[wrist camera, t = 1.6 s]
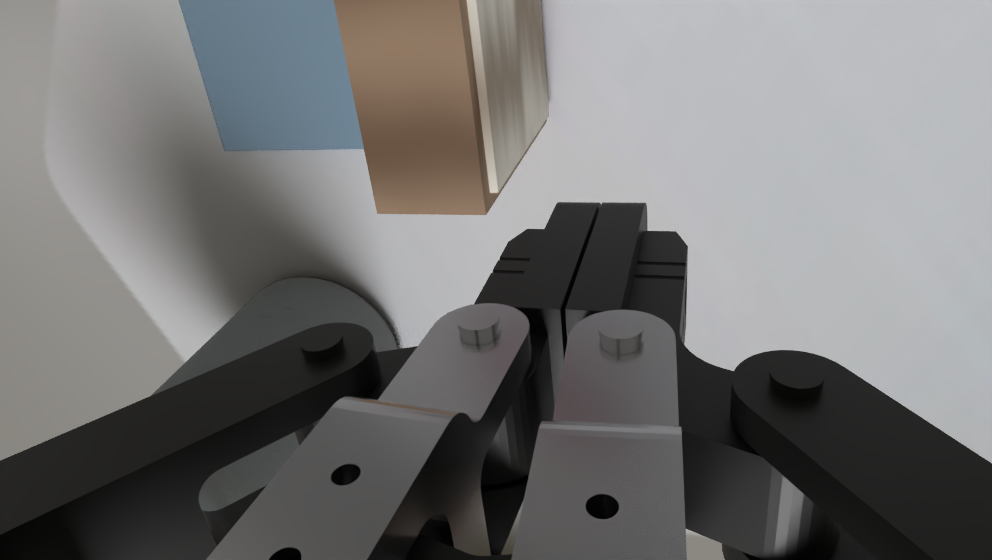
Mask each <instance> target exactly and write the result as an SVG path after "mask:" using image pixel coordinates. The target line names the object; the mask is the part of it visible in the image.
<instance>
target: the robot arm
mask: <svg viewBox="0 0 992 560" xmlns="http://www.w3.org/2000/svg"><path fill="white" fill-rule="evenodd" d="M687 253H688V246H687V245H686V244H685V242H684V241H683V240H682V239H681V237H680V236H679V235H678V234H677V232H671V231H647V206H646V203H602V205H601V204H600V203H571V202H558V203H557V204H556V206H555V208H554V210H553V213H552V215H551V217H550V219H549V221H548V223H547V225H546V227H545V229H527V230H525V231H524V232H522V233H521V234H519V235H518V236H517V237H515V238H514V239H512V240H511V241H509V242H508V244H507V246H506V247H505V249H504V251H503V253H502V255H501V256H500V260H498V262H497V264H496V265H495V267H494V269H493V273H491V274H490V276H489V278H488V280H487V282H486V284H485V285H484V287H483V289H482V291H481V293H480V294H479V296H478V298H477V300H476V302H475V303H474V305H469V306H465V307H461V308H458V309H456V310H453V311H451V312H449V313H447V314H446V315H444V316H443V317H441V318H440V319H439V320H438V321H437V322H436V323H435V324H434V325H433V327H432V328H431V329H430V331H429V332H428V333H427V335H426V336H425V337H424V339H423V340H422V341H421V343H420V344H419V345H418V346H416V347H410V348H403V349H396V350H388V351H381V352H376V347H375V343H374V339H373V336H372V334H371V332H370V331H369V330H368V329H366V328H365V327H363V326H360V325H358V324H353V323H345V322H338V323H327V324H322V325H318V326H315V327H311V328H309V329H306V330H303V331H301V332H299V333H296V334H294V335H292V336H289V337H287V338H285V339H282V340H280V341H278V342H275V343H273V344H271V345H268V346H266V347H264V348H261V349H259V350H257V351H254V352H252V353H250V354H247V355H245V356H243V357H241V358H238V359H236V360H234V361H231V362H229V363H227V364H224V365H222V366H220V367H217V368H215V369H213V370H210V371H208V372H206V373H203V374H201V375H199V376H196V377H194V378H192V379H189V380H187V381H185V382H182V383H180V384H178V385H175V386H173V387H171V388H168V389H166V390H164V391H161V392H159V393H157V394H154V395H152V396H150V397H148V398H145V399H143V400H141V401H138V402H136V403H134V404H132V405H129V406H127V407H124V408H122V409H120V410H118V411H115V412H113V413H111V414H108V415H106V416H104V417H101V418H99V419H96V420H94V421H92V422H89V423H87V424H85V425H82V426H80V427H78V428H76V429H73V430H71V431H68V432H66V433H64V434H61V435H59V436H57V437H55V438H52V439H50V440H48V441H45V442H43V443H41V444H38V445H36V446H34V447H31V448H29V449H27V450H24V451H22V452H20V453H17V454H15V455H13V456H10V457H8V458H6V459H3V460H1V461H0V560H687V554H686V553H687V552H686V529H688V530H691V531H693V532H696V533H698V534H701V535H703V536H706V537H708V538H710V539H713V540H715V541H718V542H720V543H722V551H723V555H724V558H725V560H992V463H990V462H989V461H987V460H985V459H984V458H982V457H981V456H979V455H978V454H976V453H975V452H973V451H972V450H970V449H969V448H967V447H966V446H964V445H963V444H961V443H959V442H958V441H956V440H955V439H953V438H952V437H950V436H949V435H947V434H946V433H944V432H943V431H941V430H940V429H938V428H936V427H935V426H933V425H932V424H930V423H929V422H927V421H926V420H924V419H923V418H921V417H920V416H918V415H917V414H915V413H913V412H912V411H910V410H909V409H907V408H906V407H904V406H903V405H901V404H900V403H898V402H897V401H895V400H894V399H892V398H891V397H889V396H887V395H886V394H884V393H883V392H881V391H880V390H878V389H877V388H875V387H874V386H872V385H871V384H869V383H868V382H866V381H864V380H863V379H861V378H860V377H858V376H857V375H855V374H854V373H852V372H851V371H849V370H848V369H846V368H845V367H843V366H841V365H840V364H838V363H836V362H834V361H832V360H830V359H827V358H825V357H822V356H819V355H816V354H811V353H807V352H801V351H792V350H778V351H769V352H763V353H760V354H756V355H753V356H751V357H749V358H747V359H746V360H744V361H743V362H741V363H740V364H739V365H738V366H737V367H736V369H735V371H730V370H727V369H723V368H720V367H717V366H714V365H712V364H709V363H707V362H705V361H703V360H701V359H699V358H698V357H696V356H695V355H694V354H692V353H691V352H690V351H689V350H688V349H687V348H686V347H685V345H684V341H685V329H686V298H687ZM293 432H295V434H296V437H297V440H298V443H299V447H298V448H297V449H296V451H295V452H294V453H293V454H292V455H291V457H290V458H289V459H288V460H287V462H286V463H285V464H284V465H283V466H282V468H281V469H280V470H279V471H278V473H277V474H276V475H275V476H274V477H273V479H272V480H271V481H270V482H269V483H268V485H266V486H264V487H262V488H260V489H258V490H256V491H255V492H253V493H251V494H249V495H247V496H245V497H243V498H241V499H239V500H238V501H236V502H234V503H232V504H230V505H228V506H226V507H224V508H222V509H219V510H216V511H203V510H202V509H201V507H200V504H199V493H200V490H201V488H202V486H203V484H204V483H205V481H206V480H207V479H208V478H209V477H210V476H211V475H212V474H213V473H215V472H216V471H218V470H219V469H221V468H223V467H225V466H227V465H229V464H231V463H233V462H235V461H237V460H239V459H241V458H243V457H245V456H247V455H249V454H251V453H253V452H255V451H257V450H259V449H261V448H263V447H265V446H267V445H269V444H271V443H273V442H275V441H277V440H279V439H281V438H283V437H285V436H287V435H289V434H291V433H293Z"/></svg>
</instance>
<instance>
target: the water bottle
mask: <svg viewBox="0 0 992 560" xmlns="http://www.w3.org/2000/svg"><path fill="white" fill-rule="evenodd" d="M338 322H345V323H353V324H358V325H360V326H363V327H365V328H366V329H368V330H369V331H370V332H371V334H372V336H373V339H374V343H375V347H376V352H381V351H388V350H396V349H398V348H397V345H396V342H395V339H394V336H393V334H392V332H391V331H390V329H389V327H388V325H387V324H386V322H385V321H384V320H383V318H382V317H381V316H380V315H379V313H378V312H377V311H376V310H375V309H374V308H373V307H372V306H371V305H370V304H368V303H367V302H366V301H365V300H364V299H363V298H361V297H360V296H358V295H357V294H355V293H354V292H352V291H351V290H349V289H347V288H345V287H343V286H340V285H338V284H336V283H334V282H330V281H326V280H323V279H319V278H309V277H296V278H286V279H283V280H280V281H277V282H274V283H272V284H270V285H269V286H267V287H266V288H264V289H262V290H261V291H260V292H259V293H258V294H256V295H255V296H254V297H253V298H252V299H251V300H250V301H249V302H248V303H247V304H246V305H245V306H244V307H243V308H242V309H241V310H240V311H239V312H238V313H237V314H236V315H235V316H234V317H233V318H231V319H230V320H229V321H228V322H227V323H226V324H225V325H224V326H223V327H222V328H221V329H220V330H219V331H218V332H217V333H216V334H215V335H214V336H213V337H212V338H211V339H210V340H209V341H208V342H206V343H205V344H204V345H203V346H202V347H201V348H200V349H199V350H198V351H197V352H196V353H195V354H194V355H193V356H192V357H191V358H190V359H189V360H188V361H187V362H186V363H185V364H184V365H182V367H181V368H179V369H178V370H177V371H176V372H175V373H174V374H173V375H172V376H171V377H170V378H169V379H168V380H167V381H166V382H165V383H164V384H163V385H162V386H161V387H160V388H159V389H157V390H156V391H155V392H154V393H153V394H152V395H154V394H157V393H159V392H161V391H164V390H166V389H168V388H171V387H173V386H175V385H178V384H180V383H182V382H185V381H187V380H189V379H192V378H194V377H196V376H199V375H201V374H203V373H206V372H208V371H210V370H213V369H215V368H217V367H220V366H222V365H224V364H227V363H229V362H231V361H234V360H236V359H238V358H241V357H243V356H245V355H247V354H250V353H252V352H254V351H257V350H259V349H261V348H264V347H266V346H268V345H271V344H273V343H275V342H278V341H280V340H282V339H285V338H287V337H289V336H292V335H294V334H296V333H299V332H301V331H303V330H306V329H309V328H311V327H315V326H318V325H322V324H327V323H338ZM152 395H151V396H152ZM298 447H299V443H298V440H297V437H296V434H295V432H293V433H291V434H289V435H287V436H285V437H283V438H281V439H279V440H277V441H275V442H273V443H271V444H269V445H267V446H265V447H263V448H261V449H259V450H257V451H255V452H253V453H251V454H249V455H247V456H245V457H243V458H241V459H239V460H237V461H235V462H233V463H231V464H229V465H227V466H225V467H223V468H221V469H219V470H218V471H216V472H215V473H213V474H212V475H211V476H210V477H209V478H208V479H207V480H206V481H205V483H204V484H203V486H202V488H201V490H200V493H199V504H200V507H201V509H202V510H203V511H216V510H219V509H222V508H224V507H226V506H228V505H230V504H232V503H234V502H236V501H238V500H239V499H241V498H243V497H245V496H247V495H249V494H251V493H253V492H255V491H256V490H258V489H260V488H262V487H264V486H266V485H268V483H269V482H270V481H271V480H272V479H273V477H274V476H275V475H276V474H277V473H278V471H279V470H280V469H281V468H282V466H283V465H284V464H285V463H286V462H287V460H288V459H289V458H290V457H291V455H292V454H293V453H294V452H295V451H296V449H297V448H298Z"/></svg>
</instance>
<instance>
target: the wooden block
mask: <svg viewBox="0 0 992 560" xmlns="http://www.w3.org/2000/svg"><path fill="white" fill-rule="evenodd" d="M334 4H335V9H336V14H337V19H338V24H339V29H340V34H341V39H342V43H343V48H344V53H345V58H346V63H347V68H348V73H349V78H350V83H351V87H352V92H353V97H354V102H355V107H356V112H357V117H358V122H359V126H360V131H361V136H362V141H363V146H364V151H365V156H366V161H367V165H368V170H369V175H370V180H371V185H372V190H373V195H374V200H375V205H376V209H377V214H448V215H486V214H487V213H488V211H489V210H490V208H491V206H492V205H493V203H494V202H495V200H496V199H497V197H498V196H499V194H500V193H501V191H502V189H503V188H504V186H505V185H506V183H507V182H508V180H509V179H510V177H511V176H512V174H513V172H514V171H515V169H516V168H517V166H518V165H519V163H520V162H521V160H522V159H523V157H524V155H525V154H526V152H527V151H528V149H529V148H530V146H531V145H532V143H533V142H534V140H535V138H536V137H537V135H538V134H539V132H540V131H541V129H542V128H543V126H544V125H545V123H546V119H547V118H548V116H549V107H548V93H547V80H546V66H545V53H544V39H543V26H542V12H541V0H334Z"/></svg>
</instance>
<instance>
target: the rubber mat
mask: <svg viewBox="0 0 992 560" xmlns="http://www.w3.org/2000/svg"><path fill="white" fill-rule="evenodd" d="M179 3H180V6H181V9H182V12H183V16H184V19H185V22H186V26H187V29H188V32H189V36H190V39H191V42H192V46H193V49H194V52H195V55H196V59H197V62H198V65H199V69H200V72H201V75H202V79H203V82H204V85H205V88H206V92H207V95H208V98H209V102H210V105H211V108H212V112H213V115H214V118H215V121H216V125H217V128H218V131H219V135H220V138H221V141H222V145H223V148H224V151H249V150H318V149H364V146H363V141H362V136H361V131H360V126H359V122H358V117H357V112H356V107H355V102H354V97H353V92H352V87H351V83H350V78H349V73H348V68H347V63H346V58H345V53H344V48H343V43H342V39H341V34H340V29H339V24H338V19H337V14H336V9H335V4H334V0H179Z"/></svg>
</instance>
